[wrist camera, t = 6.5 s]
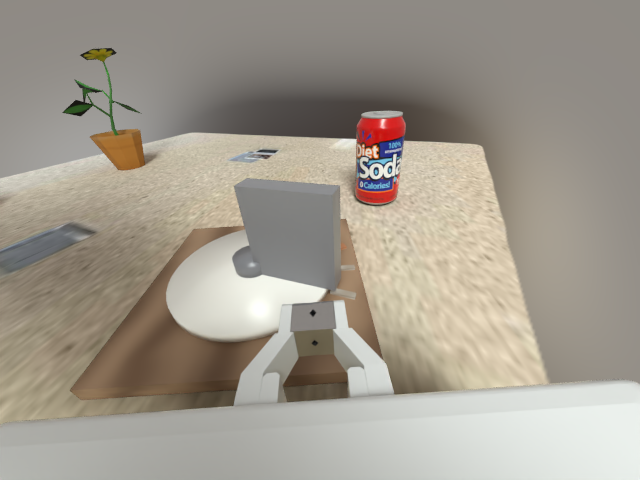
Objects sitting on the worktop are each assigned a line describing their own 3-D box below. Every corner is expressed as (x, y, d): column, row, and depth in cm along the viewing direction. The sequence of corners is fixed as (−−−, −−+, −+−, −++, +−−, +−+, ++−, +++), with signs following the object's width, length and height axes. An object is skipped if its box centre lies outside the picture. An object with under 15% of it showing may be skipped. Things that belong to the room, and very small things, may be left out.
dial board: (81, 399, 20) (67, 388, 19) (196, 237, 40) (193, 227, 39) (383, 379, 20) (385, 367, 19) (346, 227, 40) (346, 217, 39)
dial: (128, 313, 25) (58, 214, 19) (238, 225, 38) (218, 152, 32) (303, 374, 18) (283, 257, 12) (358, 243, 32) (361, 158, 26)
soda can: (386, 189, 52) (394, 108, 44) (404, 204, 45) (416, 113, 37) (350, 194, 51) (351, 112, 43) (363, 210, 44) (366, 117, 36)
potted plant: (155, 155, 90) (112, 52, 73) (168, 165, 78) (121, 44, 61) (94, 167, 80) (30, 52, 64) (99, 180, 68) (21, 42, 52)
